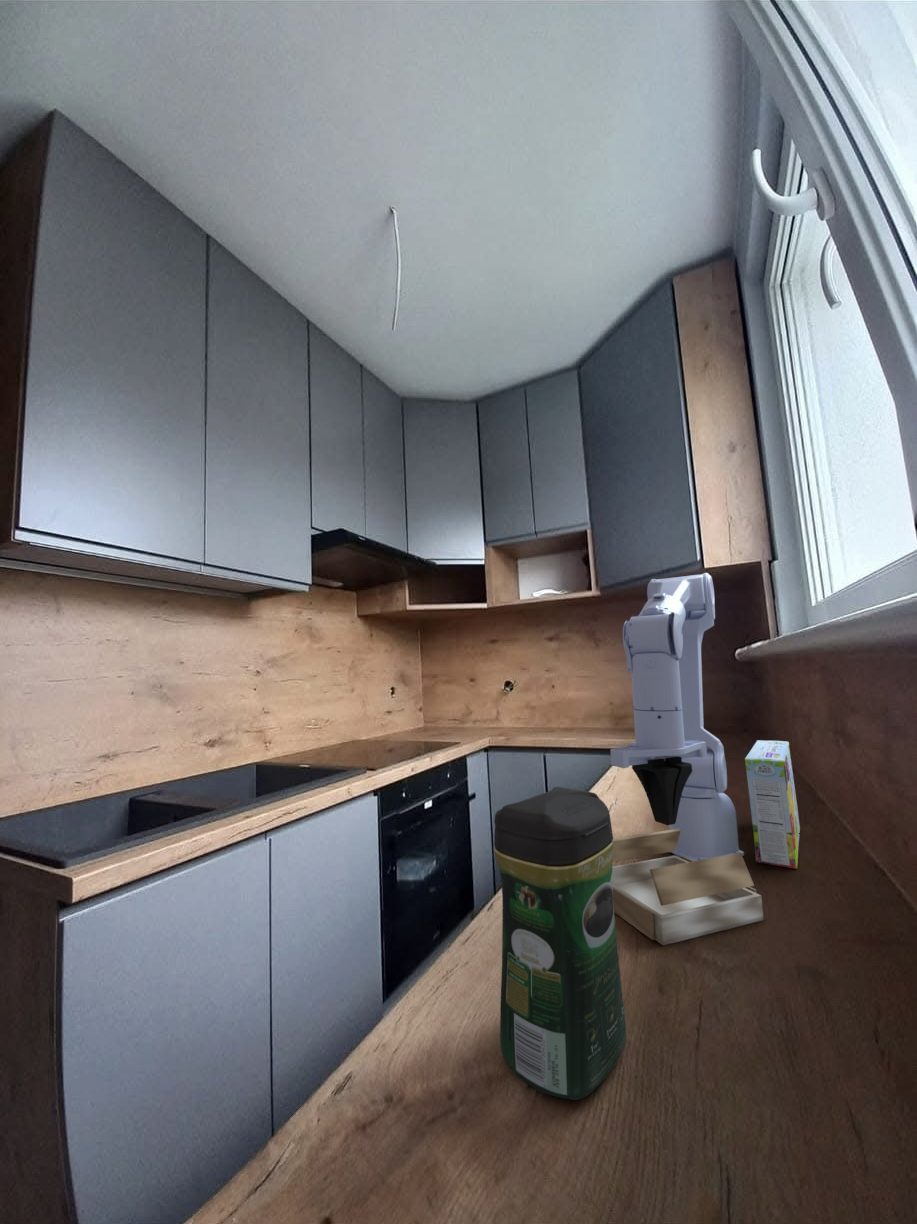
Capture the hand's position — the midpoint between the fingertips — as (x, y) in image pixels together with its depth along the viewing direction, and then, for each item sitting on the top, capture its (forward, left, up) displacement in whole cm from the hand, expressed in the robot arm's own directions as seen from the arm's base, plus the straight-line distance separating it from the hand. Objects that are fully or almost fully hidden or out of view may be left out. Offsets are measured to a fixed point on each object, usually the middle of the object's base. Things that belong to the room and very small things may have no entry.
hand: (665, 822), depth 59 cm
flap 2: (0, +6, -6) cm, 9 cm away
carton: (0, 0, -10) cm, 10 cm away
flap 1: (0, -6, -6) cm, 9 cm away
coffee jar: (+24, +15, -10) cm, 30 cm away
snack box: (-31, -10, -10) cm, 34 cm away
